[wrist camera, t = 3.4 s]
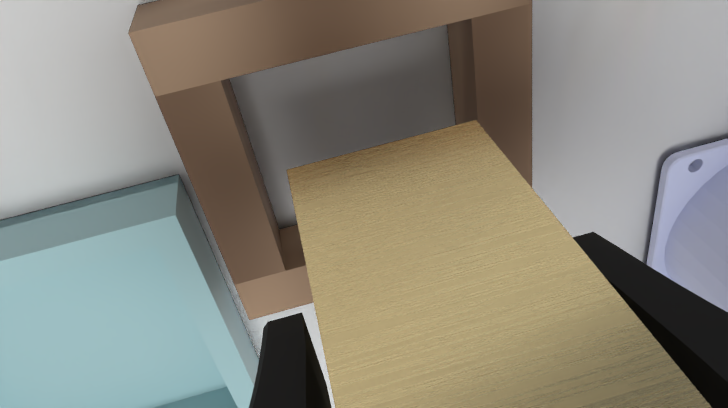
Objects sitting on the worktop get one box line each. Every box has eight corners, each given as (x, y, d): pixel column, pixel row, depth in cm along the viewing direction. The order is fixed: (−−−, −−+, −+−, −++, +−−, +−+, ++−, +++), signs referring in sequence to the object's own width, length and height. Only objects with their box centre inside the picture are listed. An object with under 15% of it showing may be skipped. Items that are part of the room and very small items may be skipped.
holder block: (497, -80, 15) (532, -65, 13) (506, 205, 20) (531, 241, 18) (137, 5, 14) (128, 33, 12) (246, 276, 19) (249, 320, 18)
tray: (178, 174, 17) (175, 215, 15) (268, 381, 22) (272, 426, 21) (-169, 264, 16) (-211, 316, 14) (14, 453, 22) (-2, 505, 20)
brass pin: (497, 92, 12) (924, 529, 5) (505, 271, 15) (775, 706, 8) (255, 155, 12) (328, 728, 4) (312, 326, 14) (410, 834, 7)
